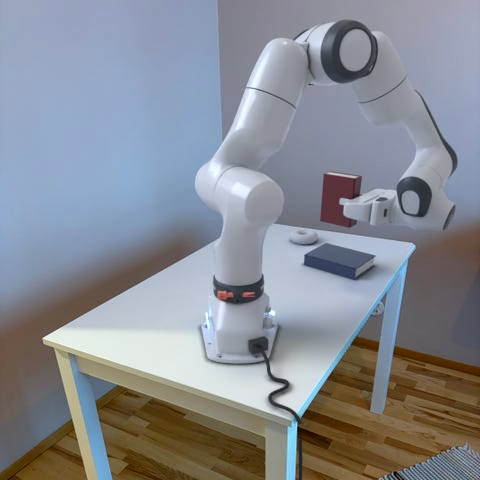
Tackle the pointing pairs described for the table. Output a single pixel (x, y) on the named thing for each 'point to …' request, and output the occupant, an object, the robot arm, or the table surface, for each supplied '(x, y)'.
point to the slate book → (339, 260)
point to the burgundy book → (338, 197)
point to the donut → (303, 236)
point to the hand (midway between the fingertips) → (345, 198)
